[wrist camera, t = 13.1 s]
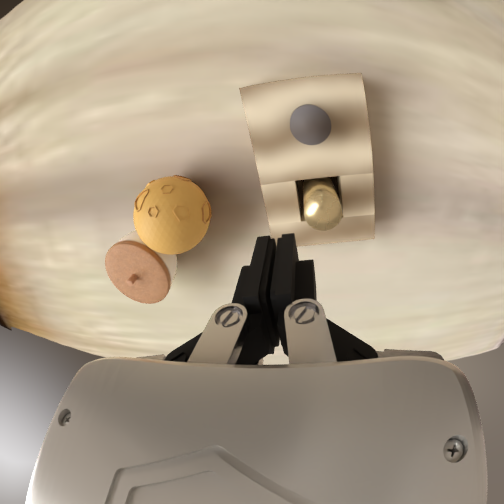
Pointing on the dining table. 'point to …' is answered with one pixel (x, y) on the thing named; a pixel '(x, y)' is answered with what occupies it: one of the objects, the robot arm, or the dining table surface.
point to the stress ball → (171, 215)
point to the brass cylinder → (321, 204)
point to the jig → (313, 152)
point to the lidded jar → (140, 269)
